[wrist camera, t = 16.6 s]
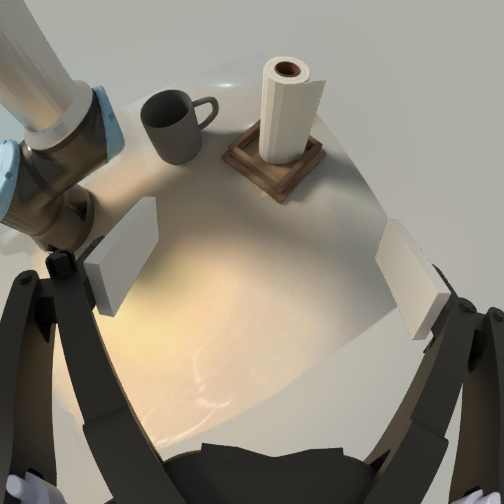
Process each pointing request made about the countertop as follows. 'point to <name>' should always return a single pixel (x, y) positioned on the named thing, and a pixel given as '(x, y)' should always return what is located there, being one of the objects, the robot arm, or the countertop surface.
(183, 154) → the mug
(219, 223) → the countertop surface
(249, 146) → the wooden tray
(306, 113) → the paper towel roll
